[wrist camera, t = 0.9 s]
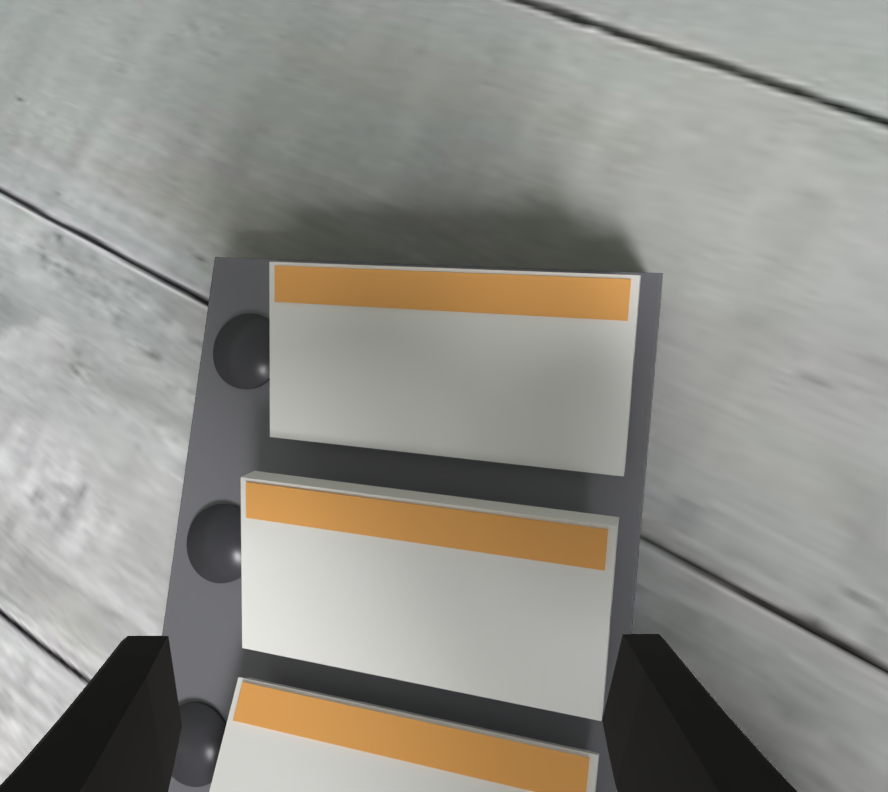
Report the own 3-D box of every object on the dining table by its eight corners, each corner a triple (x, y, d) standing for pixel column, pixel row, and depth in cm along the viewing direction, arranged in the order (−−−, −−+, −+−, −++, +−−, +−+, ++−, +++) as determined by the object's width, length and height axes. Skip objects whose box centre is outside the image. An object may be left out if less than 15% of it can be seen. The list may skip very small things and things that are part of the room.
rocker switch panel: (607, 904, 21) (600, 974, 18) (193, 792, 25) (131, 834, 22) (661, 299, 23) (662, 271, 20) (261, 281, 27) (212, 255, 24)
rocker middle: (605, 697, 19) (601, 722, 18) (262, 630, 22) (240, 649, 21) (620, 512, 18) (617, 527, 17) (261, 467, 21) (239, 478, 20)
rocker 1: (625, 466, 19) (623, 477, 18) (288, 429, 22) (268, 437, 21) (641, 275, 19) (639, 275, 18) (288, 262, 21) (268, 261, 20)
